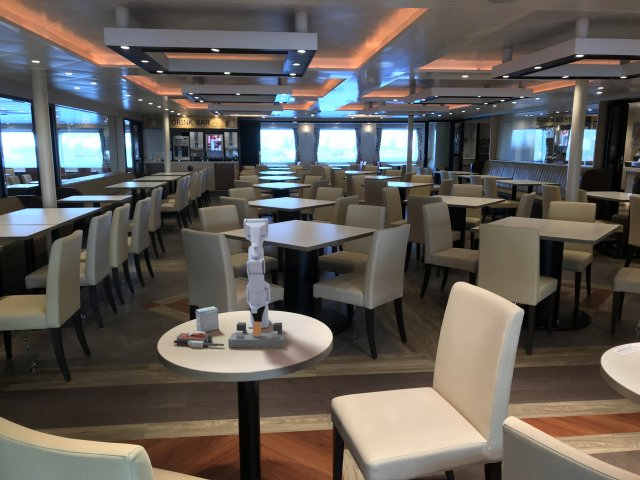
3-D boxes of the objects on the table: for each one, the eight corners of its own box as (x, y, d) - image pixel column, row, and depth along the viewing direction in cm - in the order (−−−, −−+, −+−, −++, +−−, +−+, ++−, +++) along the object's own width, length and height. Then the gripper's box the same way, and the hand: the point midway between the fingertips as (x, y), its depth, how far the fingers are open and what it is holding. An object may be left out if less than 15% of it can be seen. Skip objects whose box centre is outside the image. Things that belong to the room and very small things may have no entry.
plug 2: (277, 331, 206) (276, 317, 205) (284, 331, 206) (284, 317, 205) (273, 340, 197) (273, 325, 196) (281, 340, 197) (281, 325, 196)
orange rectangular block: (253, 335, 193) (253, 322, 195) (261, 335, 193) (261, 322, 194) (252, 335, 192) (253, 321, 193) (260, 335, 192) (261, 321, 193)
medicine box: (215, 326, 214) (214, 306, 213) (219, 329, 211) (218, 308, 209) (196, 330, 210) (195, 309, 208) (200, 333, 206) (199, 312, 205)
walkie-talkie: (171, 347, 192) (223, 349, 189) (170, 336, 191) (222, 338, 189) (180, 339, 201) (230, 341, 198) (179, 328, 200) (230, 330, 197)
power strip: (232, 340, 198) (232, 327, 197) (285, 340, 196) (284, 328, 196) (228, 347, 191) (228, 334, 190) (282, 347, 189) (282, 334, 189)
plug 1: (242, 331, 207) (241, 317, 206) (249, 331, 207) (249, 317, 206) (237, 340, 198) (236, 324, 197) (244, 340, 198) (244, 325, 197)
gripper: (264, 296, 185) (265, 332, 188) (270, 286, 200) (271, 320, 202) (244, 296, 186) (246, 332, 188) (252, 286, 200) (253, 319, 202)
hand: (258, 326), depth 195 cm, fingers closed, pressing on orange rectangular block
